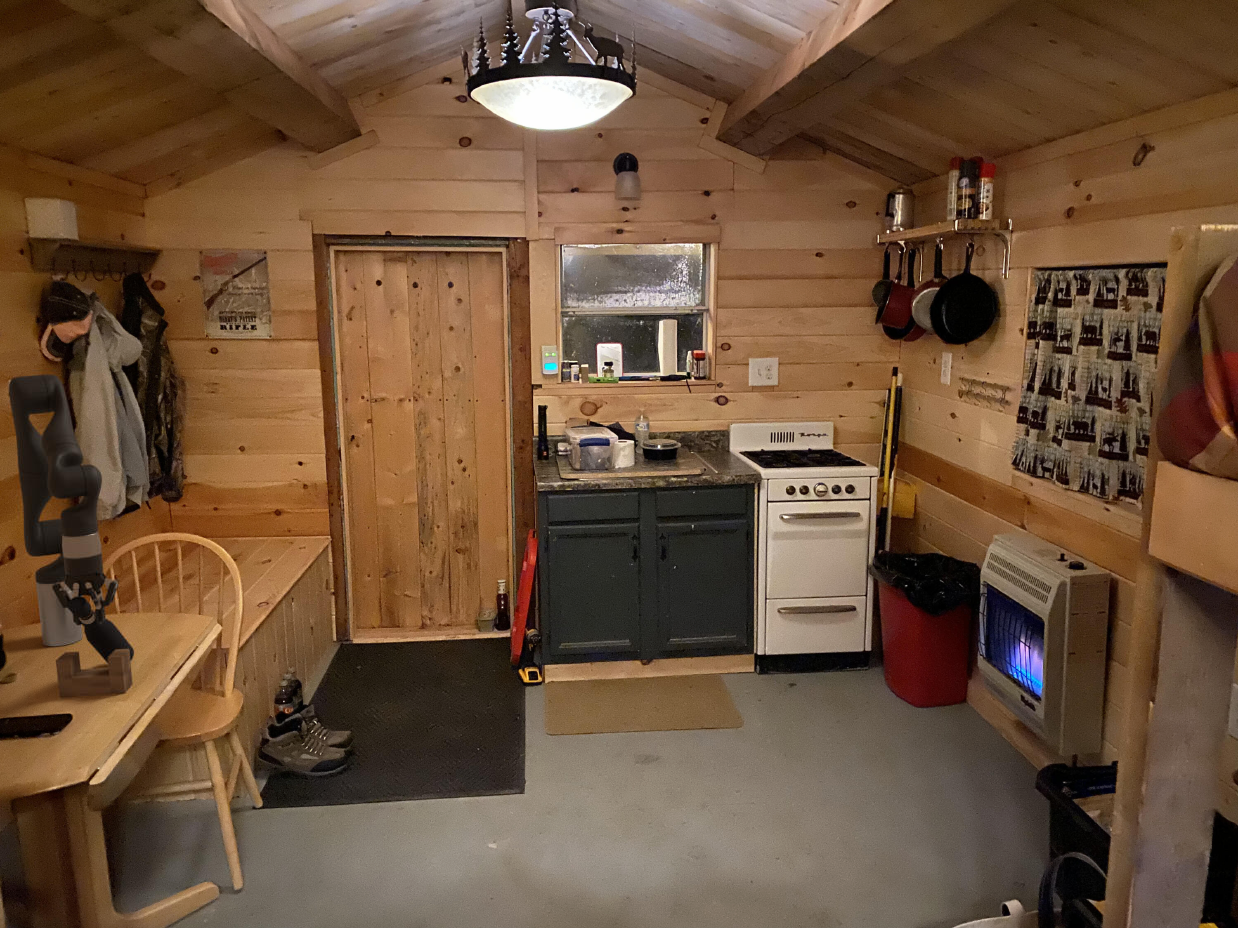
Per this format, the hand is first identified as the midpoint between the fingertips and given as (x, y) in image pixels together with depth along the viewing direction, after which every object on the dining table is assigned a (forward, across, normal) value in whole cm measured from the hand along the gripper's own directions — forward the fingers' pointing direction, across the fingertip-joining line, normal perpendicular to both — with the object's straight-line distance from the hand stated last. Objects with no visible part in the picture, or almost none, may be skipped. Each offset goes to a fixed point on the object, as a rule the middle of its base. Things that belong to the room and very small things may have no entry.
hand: (90, 623), depth 209 cm
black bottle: (+15, 0, +16) cm, 22 cm away
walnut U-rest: (+17, 0, 0) cm, 17 cm away
